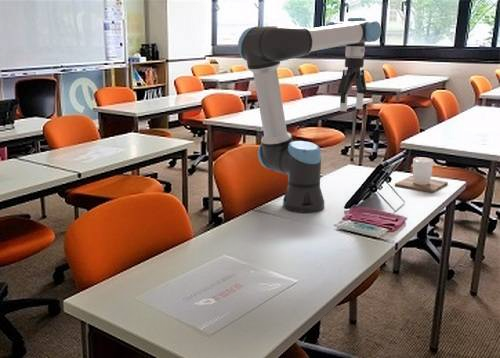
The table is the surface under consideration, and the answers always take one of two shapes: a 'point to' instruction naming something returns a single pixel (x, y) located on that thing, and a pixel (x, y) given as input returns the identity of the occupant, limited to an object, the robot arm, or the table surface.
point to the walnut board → (430, 187)
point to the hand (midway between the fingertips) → (351, 110)
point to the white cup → (422, 170)
